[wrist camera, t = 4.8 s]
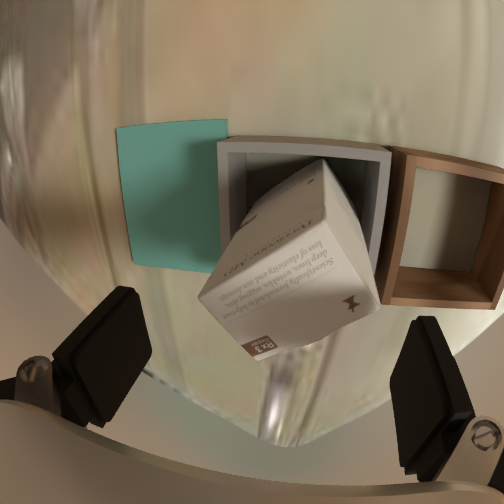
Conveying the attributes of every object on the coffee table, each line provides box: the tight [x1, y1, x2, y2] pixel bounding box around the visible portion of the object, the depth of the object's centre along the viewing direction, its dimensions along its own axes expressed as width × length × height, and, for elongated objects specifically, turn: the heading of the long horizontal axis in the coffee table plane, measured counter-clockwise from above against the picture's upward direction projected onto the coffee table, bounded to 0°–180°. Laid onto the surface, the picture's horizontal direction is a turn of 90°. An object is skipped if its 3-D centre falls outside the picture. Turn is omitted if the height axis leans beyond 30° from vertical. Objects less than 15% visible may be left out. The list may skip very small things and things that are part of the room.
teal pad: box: [116, 119, 228, 273], centre depth 23 cm, size 9×12×1 cm
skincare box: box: [198, 158, 380, 361], centre depth 16 cm, size 6×4×12 cm
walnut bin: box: [374, 146, 504, 310], centre depth 18 cm, size 10×10×4 cm
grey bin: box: [217, 136, 392, 277], centre depth 20 cm, size 10×10×4 cm
